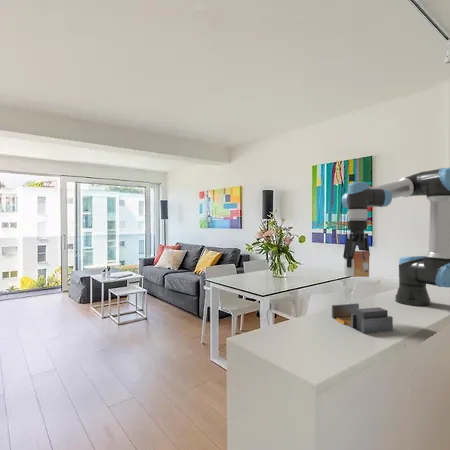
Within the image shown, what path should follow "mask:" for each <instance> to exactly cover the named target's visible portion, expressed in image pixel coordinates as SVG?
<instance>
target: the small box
mask: <svg viewBox="0 0 450 450" xmlns="http://www.w3.org/2000/svg"><path fill="white" fill-rule="evenodd" d="M369 251H370V250H369ZM369 251H364V250H359V249H355V252H354V256H353V259H352V260H354V276H350V277H353V278H358V277H360V278H361V277H363V278H369V277H370V257H369ZM343 274H344V276H348V275H347V259H344V273H343ZM348 277H349V276H348Z"/></svg>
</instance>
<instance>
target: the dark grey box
mask: <svg viewBox="0 0 450 450" xmlns="http://www.w3.org/2000/svg"><path fill="white" fill-rule="evenodd" d="M388 314H389V313H388V309H385V308H381V307H366V308H359V309H356V329H358V330H360V331H362V318H373V317H385V316H388Z"/></svg>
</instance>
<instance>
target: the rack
mask: <svg viewBox="0 0 450 450" xmlns="http://www.w3.org/2000/svg"><path fill="white" fill-rule="evenodd" d="M356 309H360V304H359V303H348V304H347V303H346V304H345V303H343V304H332V305H331V318H332V319H334V320H336V321H337V322H338V323H341V324H342V325H346V326H348V327H349V328H352V329H354V330H355V331H357V332H360V333H361V334H373V333H386V332H393V330H394V325H393V323H394V321H393V319H394V318H393V316H392V315H389V316H385V317H373V318H362V331H360V330H358V329H356Z"/></svg>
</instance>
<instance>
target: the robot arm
mask: <svg viewBox="0 0 450 450" xmlns="http://www.w3.org/2000/svg"><path fill="white" fill-rule="evenodd" d="M413 196H414V197H416V196H418V197H420V196H426V199H427V200H428V201H429V204H430V205H429V229H428V230H429V231H428V232H429V233H428V252H427V254H425V255H419V256H418V255H416V256H401V257H399V260H398V285H399V286H398V288H397V293H396V294H395V296H394V297H395V302H396V303H399V304H403V305H409V306H419V307H422V306H423V307H425V306H430V305H431V298H430V295H429V293H428V292H429V291H428V290H427V285H429V286H436V287H439V288H448V289H449V288H450V167H442V168H436V169H432V170H427V171H421V172H418V173H415V174H411V175H409V176H405V177H402V178H400V179H399V180H397V181H394V182H390V183H389V182H388V183H384V184H381V185H376V186H372V187H369V184H368V182H366V181H353V182H350V183H349V184H348V186H347V192H346V193H344V194H343V195H342V197H341V205H342V206H343V207H344V208H346V209H347V219H348V220H347V229H348V230H349V233H345V242H344V247H343V255H342V257H343V259H344V260H345V259H347V275H348V277H351V276H354V260H352V259H353V256H354V252H355V250H357V249H356V248H357V247H358V250H364V251H369V258H370V256H371V254H370V244H369V233H365V230H368V221H367V220H368V208H373V207H374V208H375V207H377V208H384V207H388V206H389V205H391V203H392V200H393V199H397V198H400V197H403V198H409V197H413Z"/></svg>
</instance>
